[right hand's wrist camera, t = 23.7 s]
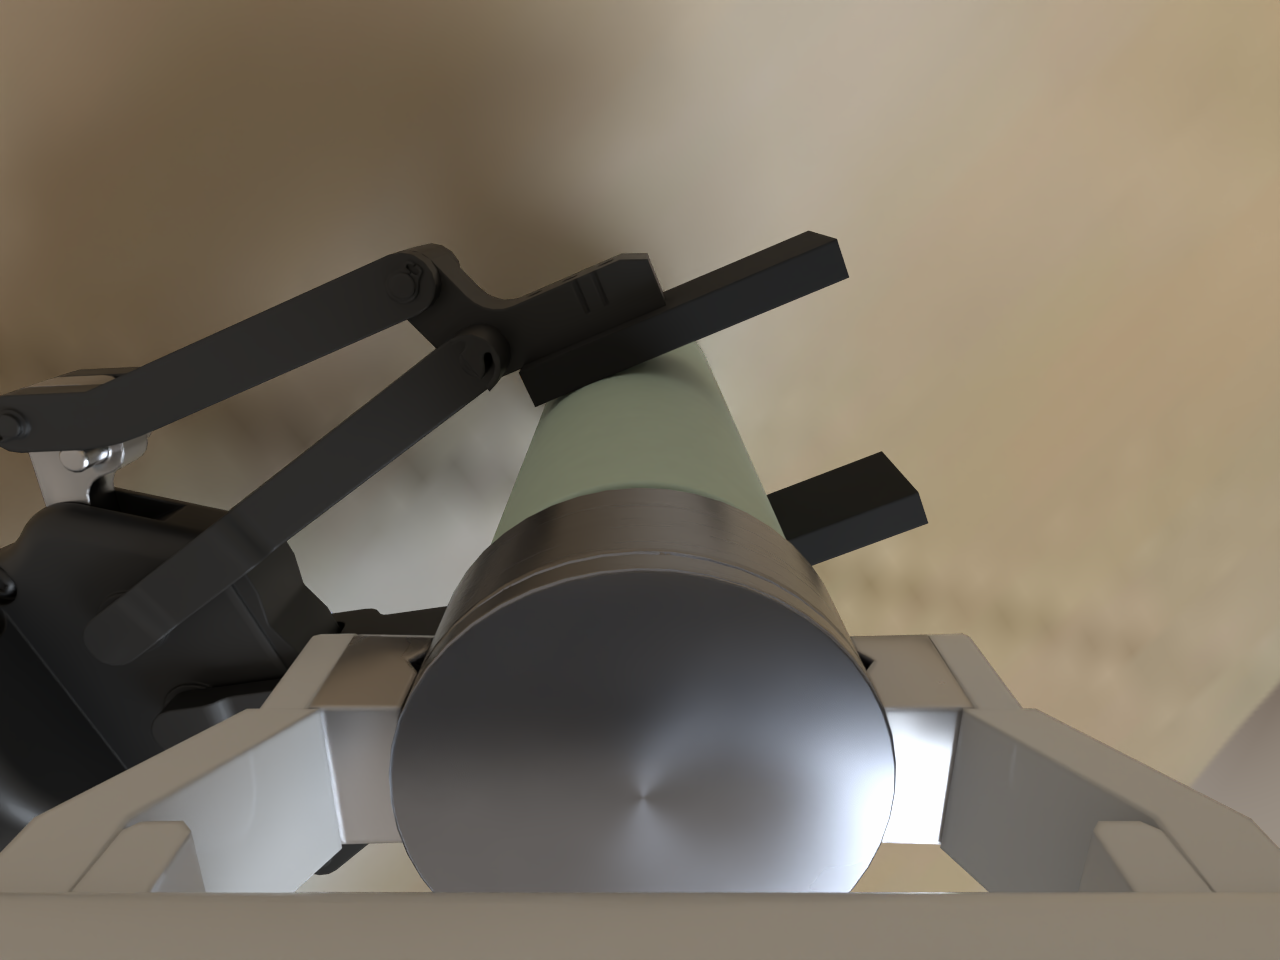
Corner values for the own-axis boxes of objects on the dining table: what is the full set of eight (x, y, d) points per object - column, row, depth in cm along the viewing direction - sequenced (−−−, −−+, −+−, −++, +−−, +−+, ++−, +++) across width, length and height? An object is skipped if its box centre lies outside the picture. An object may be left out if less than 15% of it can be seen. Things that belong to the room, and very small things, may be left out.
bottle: (559, 308, 23) (429, 532, 8) (721, 320, 23) (885, 561, 8) (553, 463, 25) (433, 888, 10) (705, 473, 25) (818, 907, 10)
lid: (717, 403, 9) (744, 467, 7) (910, 729, 11) (979, 862, 9) (352, 616, 10) (281, 728, 8) (579, 889, 11) (567, 1043, 9)
